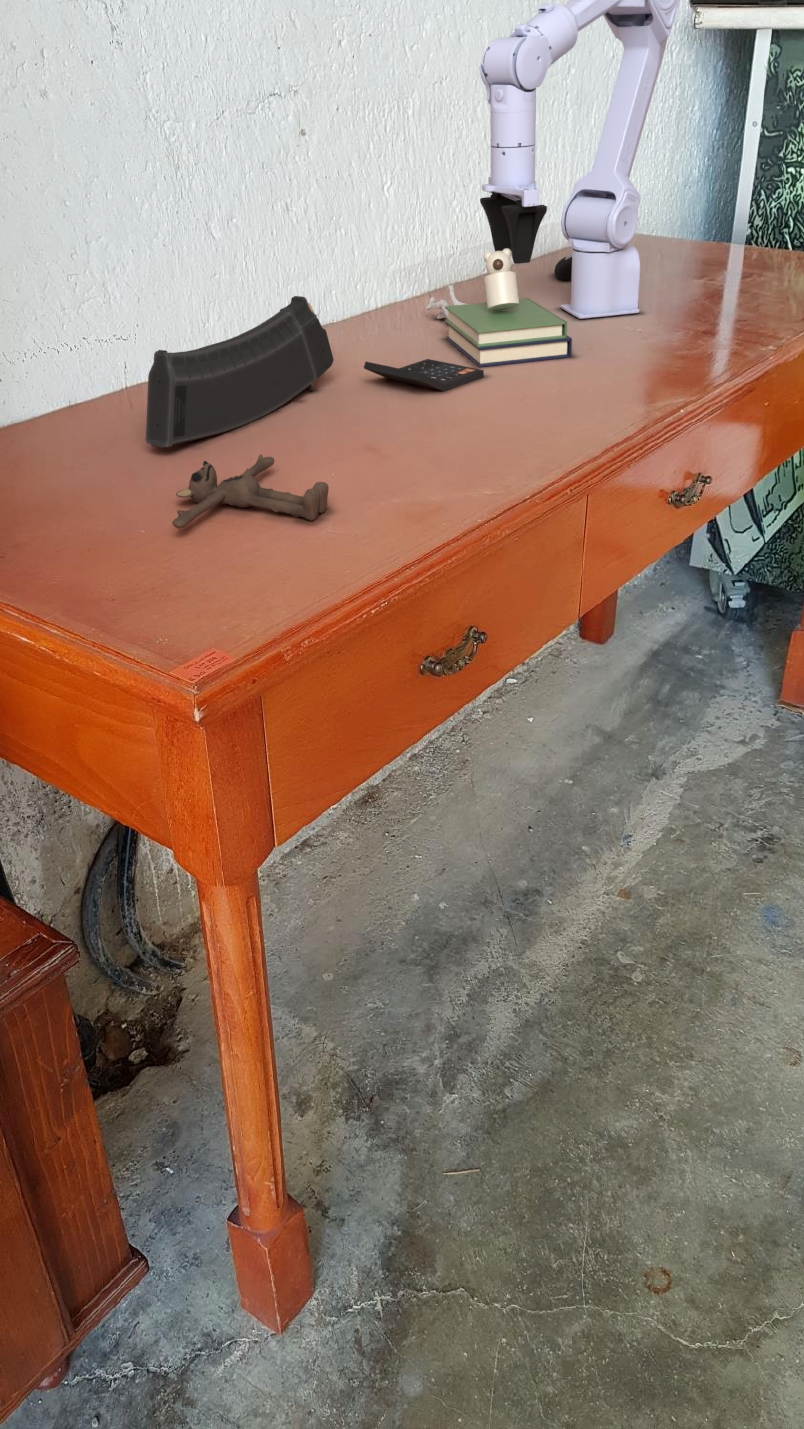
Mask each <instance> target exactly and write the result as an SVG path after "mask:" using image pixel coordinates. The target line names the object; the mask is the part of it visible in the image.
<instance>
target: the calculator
mask: <svg viewBox="0 0 804 1429" xmlns="http://www.w3.org/2000/svg"><path fill="white" fill-rule="evenodd" d="M363 369H364V370H366V371H369V372H371V373H374V374H375V375H378V376H379V377H383V378H385V379H388V380H391V381H396V382H400V383H404V384H405V383H406V384H410V385H414V386H419V387H423V388H429V389H432V390H437V391H441V392H446V391H449V390H452V389H455V388H457V387H460V386H462V385H465V384H469V383H471V382H475V381H477V380H480V379H482V378H484V376H485V375H484V374H485V373H484V372H485V370H484V369H480V368H475V367H472V366H471V367H470V366H465V365H460V364H457V363H451V362H445V361H440V360H435V359H430V358H426V359H422V360H419V361H416V362H413V363H411V364H407V365H405V366H402V367H394V366H390V365H384V364H380V363H375V362H370V361H364V365H363Z"/></svg>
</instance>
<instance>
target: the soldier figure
mask: <svg viewBox="0 0 804 1429" xmlns="http://www.w3.org/2000/svg"><path fill="white" fill-rule="evenodd" d="M448 284H449V283H448ZM447 287H448V290H449V293H448V294H449V298H450V302H451V303H452V306H454V305H464V304H467V303H465V302H462V301H460V300H458V299H457V297H456V295H455V292H454V290H455V288H454V284H452V283H450V284H449V285H447ZM435 301H436V298H435V297H434V296H431V297H430V298H429V301H428V304H427V305H426V307H425V309H426V311H429V310H431V309H433V310H434V309H435V310H438V309H439V310H440V313H438V314H437V315H436V319H437V320H441V319H448V310H447V309H445V306H451V304H450V303H449V302H448V301H447V300H445V299H441V300H439V301H436V302H435Z"/></svg>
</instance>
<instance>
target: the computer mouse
mask: <svg viewBox="0 0 804 1429" xmlns="http://www.w3.org/2000/svg"><path fill="white" fill-rule="evenodd" d="M554 275H555V277H556V278H557V279H558V280H561V281H571V277H572V253H569V254H567V255H566V256H564V257H563V258H561V259H560V260H559V261H558V262H557V263H556V264H555V267H554Z"/></svg>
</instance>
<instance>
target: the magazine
mask: <svg viewBox="0 0 804 1429" xmlns="http://www.w3.org/2000/svg"><path fill="white" fill-rule="evenodd" d="M307 299H308V298H306V297H305V296H301V295H294V296H292V297H291V299H290V303H289V304H287V305H286V306H285V307H283V308H281V309H279V311H278V312H277V313H275V314H274V315H272V316H271V317H269V318H268V319H266V320H264V321H263V322H261V323H260V324H258V325H257V326H255V327H252V328H251V329H249V330H246V331H245V332H242V333H241V334H238V335H236V336H233V337H231V338H229V339H225V340H223V341H219V342H215V343H211V344H209V345H205V346H202V347H199V348H196V349H191V350H185V351H177V352H168V350H164V349H158V350H156V351H155V352H154V353H153V363H152V366H151V367H150V370H149V372H148V376H147V398H146V399H147V400H146V423H145V424H146V425H145V442H146V444H149V445H150V446H152V447H156V448H161V449H162V448H171V447H172V446H174V445H178V444H183V443H186V442H187V443H188V442H191V441H195V440H200V439H204V438H208V437H212V436H217V435H219V434H222V433H226V432H229V431H232V430H236V429H238V428H241V427H243V426H245V425H248V424H251V423H253V422H255V421H257V420H259V419H261V418H263V417H265V416H267V415H269V414H271V413H273V412H274V411H276V410H277V409H279V408H280V407H282V406H284V405H286V404H287V403H288V402H290V401H291V400H292V399H293V398H295V397H296V396H298V395H299V394H300V393H302V392H303V391H308V392H309V391H310V392H313V391H314V388H313V383H314V382H316V381H317V380H318V379H319V378H320V377H321V376H323V374H325V373H326V372H327V371H328V370H329V369H330V368H331V367H332V365H333V363H334V355H333V352H332V348H331V344H330V340H329V336H328V333H327V330H326V329H325V328H324V327H323V326H322V324H321V322H320V319H319V318H318V315H317V314H316V313H315V310H314V309H313V306H312V305H311V303H310V302H308V300H307Z"/></svg>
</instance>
